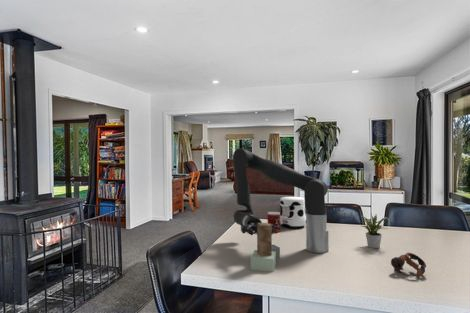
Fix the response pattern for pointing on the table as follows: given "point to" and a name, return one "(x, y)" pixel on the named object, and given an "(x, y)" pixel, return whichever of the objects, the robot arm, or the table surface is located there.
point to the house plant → (373, 232)
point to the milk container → (292, 212)
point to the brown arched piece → (409, 263)
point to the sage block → (263, 261)
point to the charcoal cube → (277, 250)
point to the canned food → (274, 220)
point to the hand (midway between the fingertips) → (262, 232)
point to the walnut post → (264, 239)
